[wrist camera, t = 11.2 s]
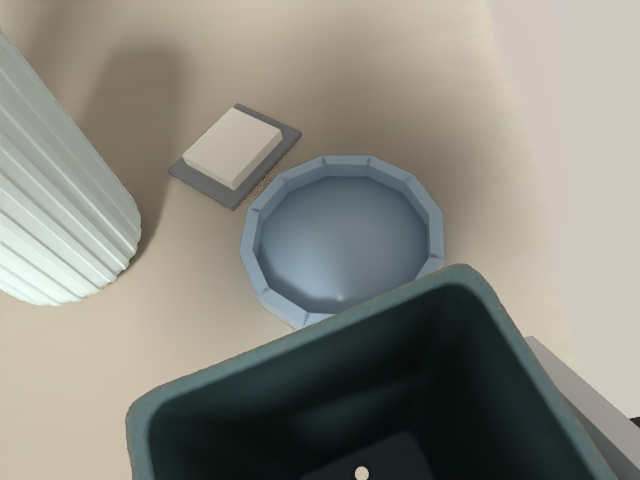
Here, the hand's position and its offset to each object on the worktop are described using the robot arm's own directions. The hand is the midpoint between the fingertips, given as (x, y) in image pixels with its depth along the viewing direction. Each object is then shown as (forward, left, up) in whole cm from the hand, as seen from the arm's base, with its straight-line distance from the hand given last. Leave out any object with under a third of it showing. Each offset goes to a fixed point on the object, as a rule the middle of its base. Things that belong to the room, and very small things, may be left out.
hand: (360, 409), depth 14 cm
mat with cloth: (+15, +24, -16) cm, 32 cm away
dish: (+12, +10, -16) cm, 22 cm away
